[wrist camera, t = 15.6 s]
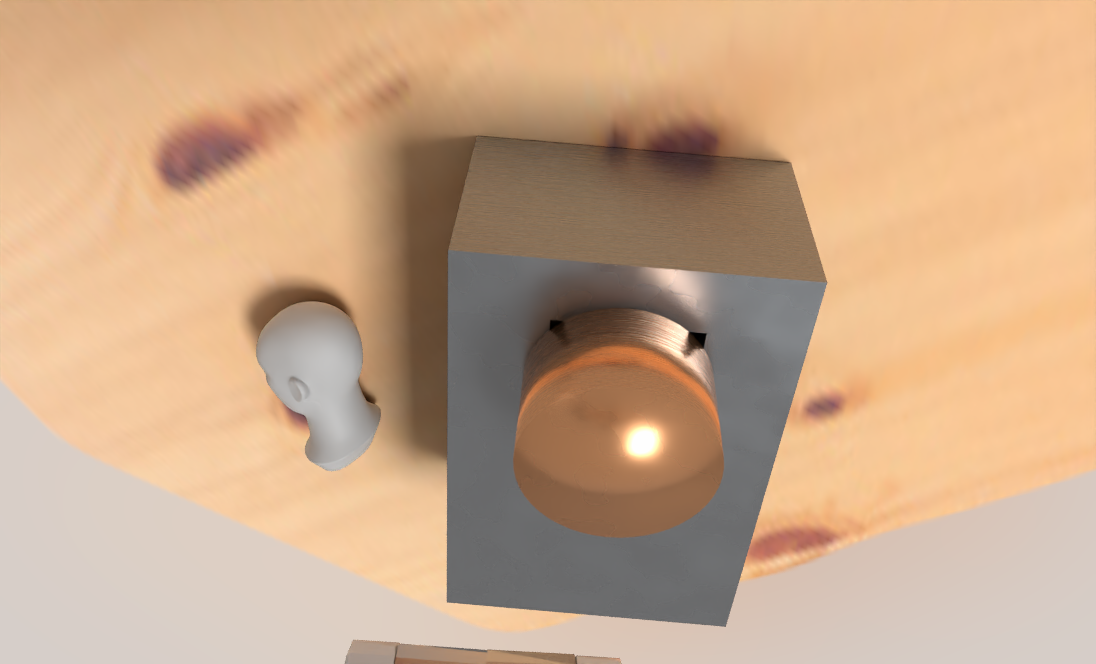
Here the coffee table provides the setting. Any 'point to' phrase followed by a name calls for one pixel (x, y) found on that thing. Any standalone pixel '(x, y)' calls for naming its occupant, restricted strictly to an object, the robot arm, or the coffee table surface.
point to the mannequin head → (320, 379)
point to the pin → (618, 425)
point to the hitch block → (619, 282)
